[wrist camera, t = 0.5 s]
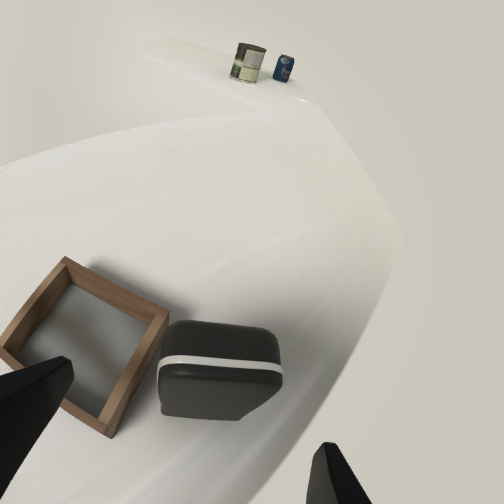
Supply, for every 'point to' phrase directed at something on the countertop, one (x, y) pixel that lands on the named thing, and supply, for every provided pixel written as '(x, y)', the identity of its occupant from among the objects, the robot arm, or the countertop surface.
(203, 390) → the battery charger
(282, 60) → the soda can
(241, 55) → the coffee can
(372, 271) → the countertop surface
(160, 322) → the wooden tray
